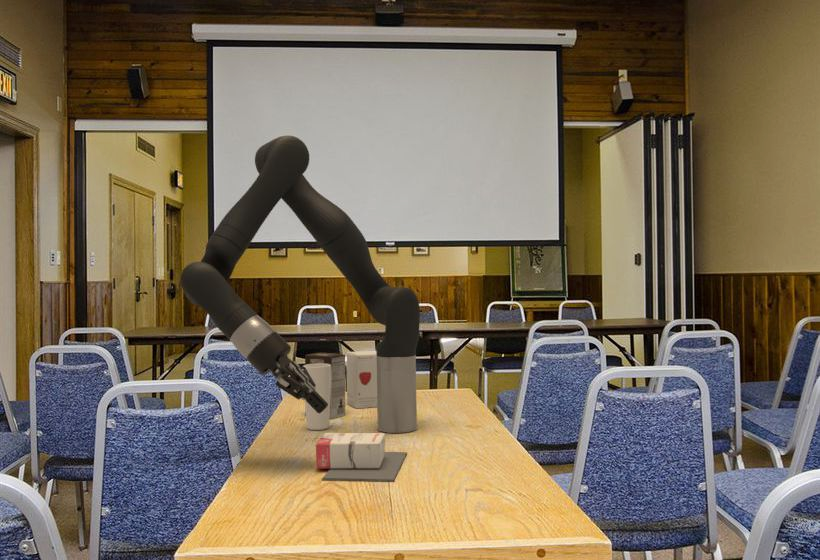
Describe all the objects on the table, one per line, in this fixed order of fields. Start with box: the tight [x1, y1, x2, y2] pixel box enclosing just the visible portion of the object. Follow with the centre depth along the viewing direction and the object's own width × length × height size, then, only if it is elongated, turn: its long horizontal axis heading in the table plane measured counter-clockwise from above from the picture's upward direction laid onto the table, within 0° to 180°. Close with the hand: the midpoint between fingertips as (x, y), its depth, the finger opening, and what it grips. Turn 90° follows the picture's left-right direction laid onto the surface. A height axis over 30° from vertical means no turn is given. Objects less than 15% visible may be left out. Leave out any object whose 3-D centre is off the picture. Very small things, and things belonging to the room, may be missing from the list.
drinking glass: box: [303, 364, 332, 431], centre depth 152 cm, size 7×7×15 cm
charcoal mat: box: [321, 451, 408, 483], centre depth 119 cm, size 18×12×1 cm
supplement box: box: [346, 350, 377, 409], centre depth 181 cm, size 9×9×15 cm
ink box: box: [315, 432, 386, 470], centre depth 120 cm, size 9×5×12 cm
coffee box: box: [304, 352, 346, 420], centre depth 167 cm, size 9×6×16 cm
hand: (324, 409), depth 120 cm, fingers closed
